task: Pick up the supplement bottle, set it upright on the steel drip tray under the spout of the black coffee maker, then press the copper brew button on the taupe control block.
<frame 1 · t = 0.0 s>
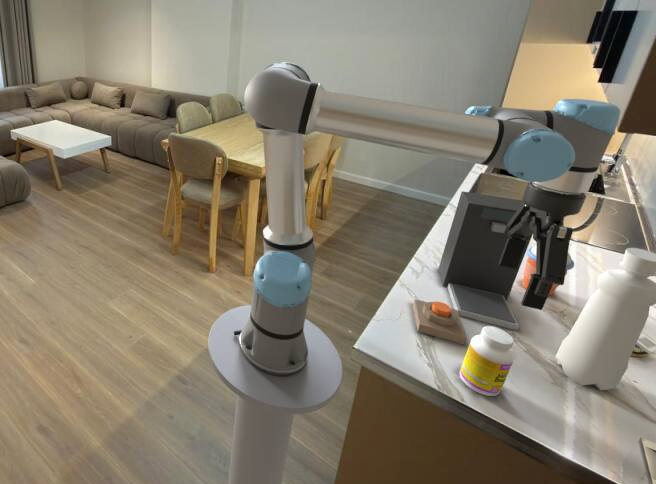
hand: (518, 285, 77), 22 cm above the counter, tool pointing down, fingers open, 13 cm apart
supplement bottle: (478, 383, 81), on the counter
brew button: (441, 309, 95), point 4 cm above the counter, slide at 0.1 cm
cup with straw: (536, 289, 109), on the counter
control block: (436, 323, 97), on the counter
coffee maker: (475, 297, 105), on the counter
bottle: (582, 376, 83), on the counter
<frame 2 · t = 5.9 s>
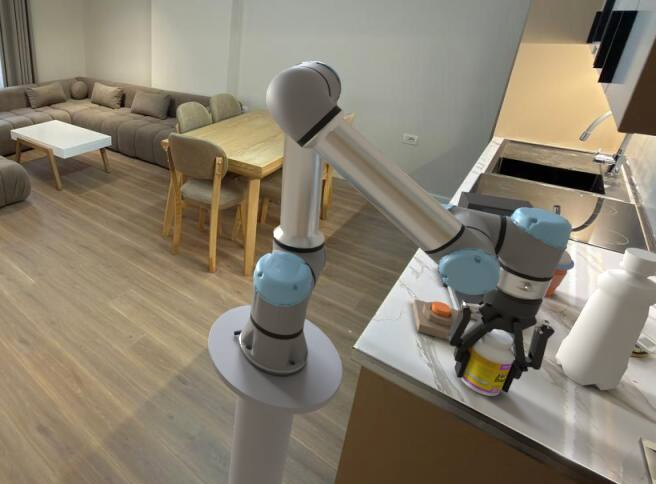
hand: (480, 379, 81), 1 cm above the counter, tool pointing down, fingers closed on supplement bottle, 7 cm apart
supplement bottle: (478, 383, 81), on the counter, touching gripper
everything else where it was.
when the fingers open (3 cm above the counter, at t = 13.4 s): supplement bottle stays where it is, resting on coffee maker.
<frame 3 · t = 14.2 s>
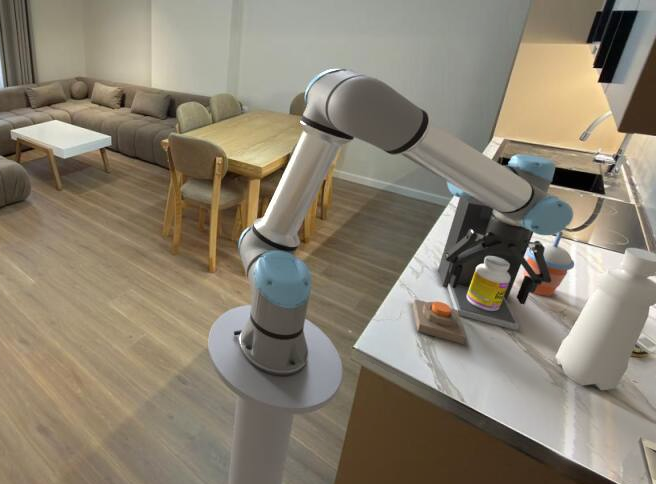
hand: (485, 292, 100), 5 cm above the counter, tool pointing down, fingers open, 13 cm apart
supplement bottle: (481, 303, 101), point 2 cm above the counter, touching coffee maker
everything else where it was.
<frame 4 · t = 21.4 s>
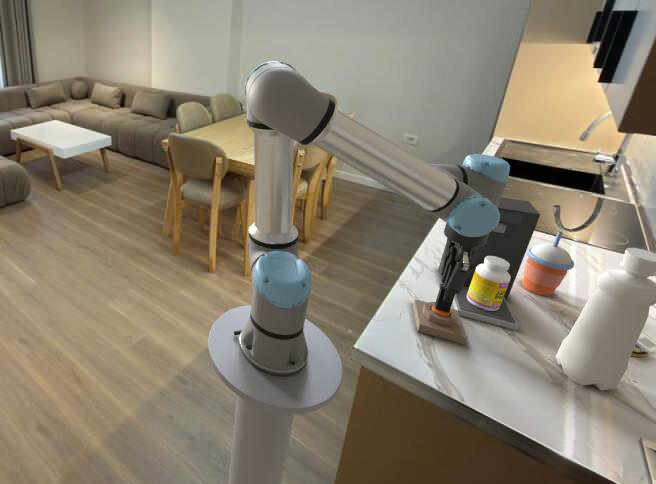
hand: (441, 308, 95), 5 cm above the counter, tool pointing down, fingers closed
brew button: (440, 312, 95), point 4 cm above the counter, slide at -0.9 cm, touching gripper
everything else where it was.
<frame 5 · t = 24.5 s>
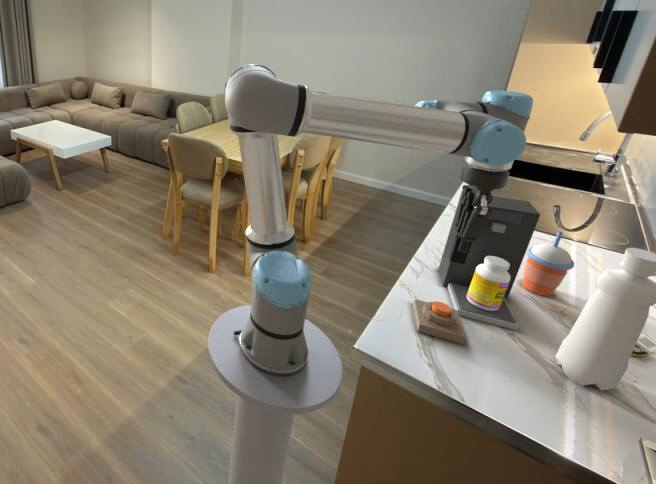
hand: (456, 261, 90), 18 cm above the counter, tool pointing down, fingers closed
brew button: (441, 309, 95), point 4 cm above the counter, slide at 0.1 cm
everything else where it was.
at the end: supplement bottle 0.0 cm from the target spot on the coffee maker, point 1.5 cm above the coffee maker's base; supplement bottle tilted 0°; brew button pushed in 1.0 cm at the most during the clip, back to where it started at the end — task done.
